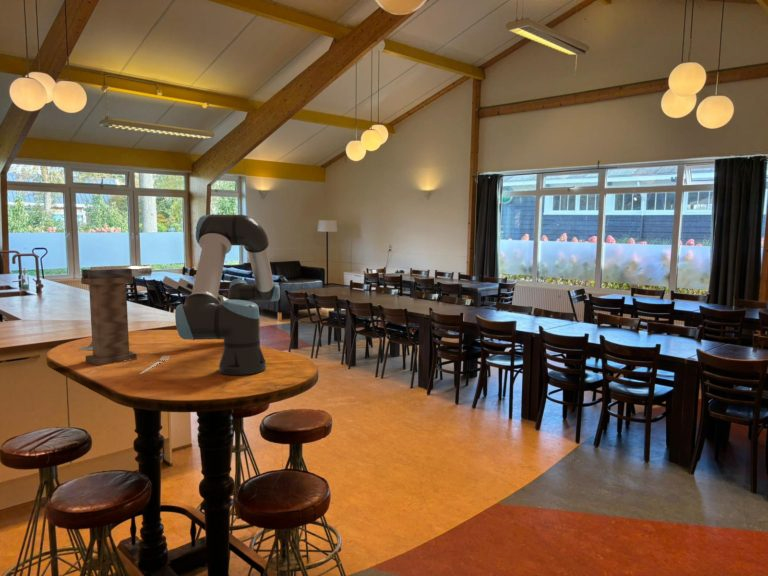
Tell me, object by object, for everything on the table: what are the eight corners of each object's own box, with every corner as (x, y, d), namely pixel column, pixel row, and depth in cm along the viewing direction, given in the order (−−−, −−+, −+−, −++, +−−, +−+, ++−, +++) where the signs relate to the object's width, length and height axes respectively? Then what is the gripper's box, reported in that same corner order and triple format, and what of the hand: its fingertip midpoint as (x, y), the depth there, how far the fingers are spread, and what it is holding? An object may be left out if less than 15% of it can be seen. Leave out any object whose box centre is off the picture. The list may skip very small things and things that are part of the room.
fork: (135, 376, 173) (134, 370, 172) (161, 360, 192) (161, 355, 192) (145, 376, 173) (144, 370, 172) (170, 360, 192) (170, 355, 192)
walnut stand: (126, 355, 200) (122, 267, 197) (136, 359, 193) (132, 268, 190) (85, 361, 190) (80, 269, 187) (95, 365, 183) (90, 270, 180)
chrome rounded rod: (147, 275, 201) (147, 264, 201) (152, 275, 198) (151, 264, 198) (90, 278, 187) (89, 266, 186) (93, 278, 184) (93, 267, 184)
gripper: (227, 314, 210) (181, 291, 196) (198, 308, 228) (153, 286, 214) (235, 297, 212) (190, 273, 198) (205, 292, 230) (162, 270, 216)
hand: (171, 280), depth 206 cm, fingers open, 13 cm apart
